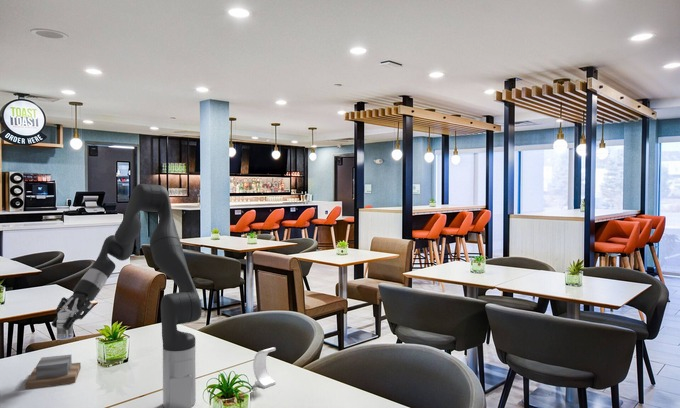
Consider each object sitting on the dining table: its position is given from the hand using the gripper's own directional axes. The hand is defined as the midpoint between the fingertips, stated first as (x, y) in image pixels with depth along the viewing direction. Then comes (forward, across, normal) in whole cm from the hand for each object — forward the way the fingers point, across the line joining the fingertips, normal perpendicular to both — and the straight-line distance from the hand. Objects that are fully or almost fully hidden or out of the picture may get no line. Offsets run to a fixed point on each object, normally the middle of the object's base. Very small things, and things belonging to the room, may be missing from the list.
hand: (59, 327), depth 160 cm
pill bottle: (+2, 0, +4) cm, 5 cm away
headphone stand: (-6, +63, +31) cm, 70 cm away
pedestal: (+12, -4, +13) cm, 19 cm away
